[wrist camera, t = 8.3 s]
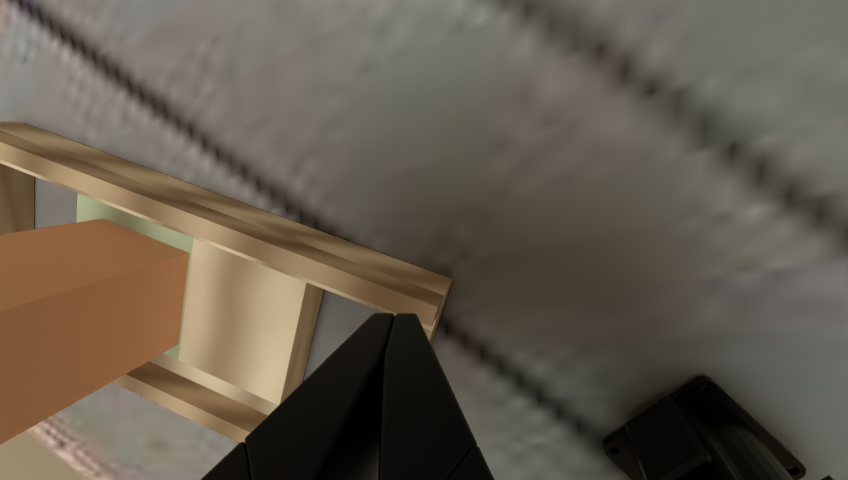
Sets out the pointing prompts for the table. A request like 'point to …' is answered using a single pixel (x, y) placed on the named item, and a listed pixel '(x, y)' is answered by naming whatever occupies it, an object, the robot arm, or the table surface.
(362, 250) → the wooden compartment tray
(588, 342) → the table surface
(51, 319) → the terracotta block
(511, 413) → the table surface
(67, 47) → the table surface
